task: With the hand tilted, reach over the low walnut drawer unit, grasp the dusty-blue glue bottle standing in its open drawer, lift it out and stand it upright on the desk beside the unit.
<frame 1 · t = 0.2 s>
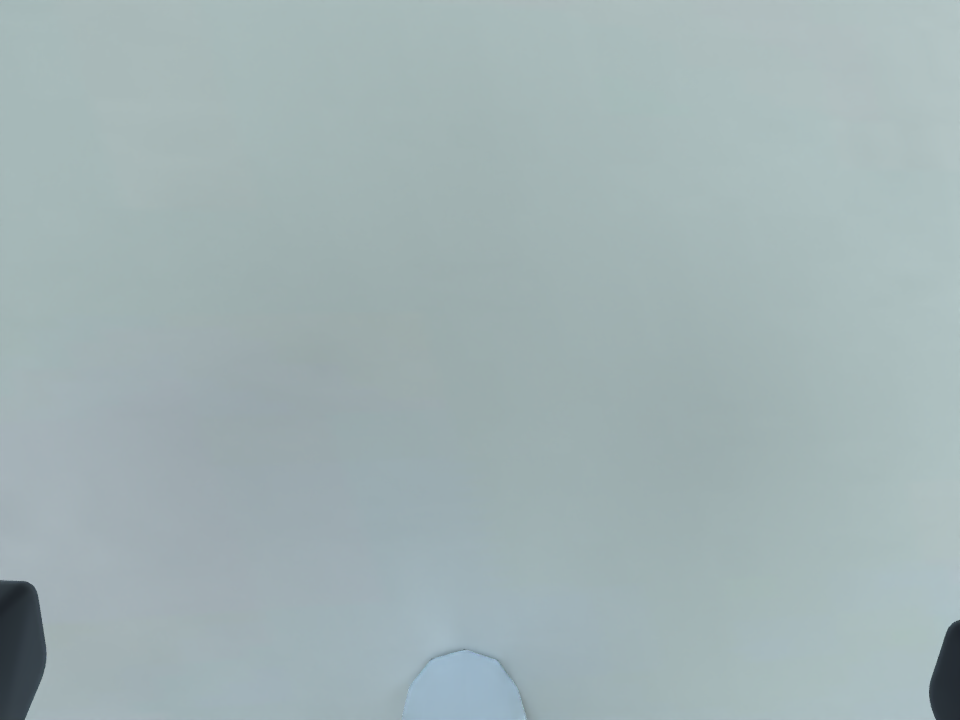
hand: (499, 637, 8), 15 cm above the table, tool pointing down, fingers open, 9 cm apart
milkshake: (463, 684, 25), on the table
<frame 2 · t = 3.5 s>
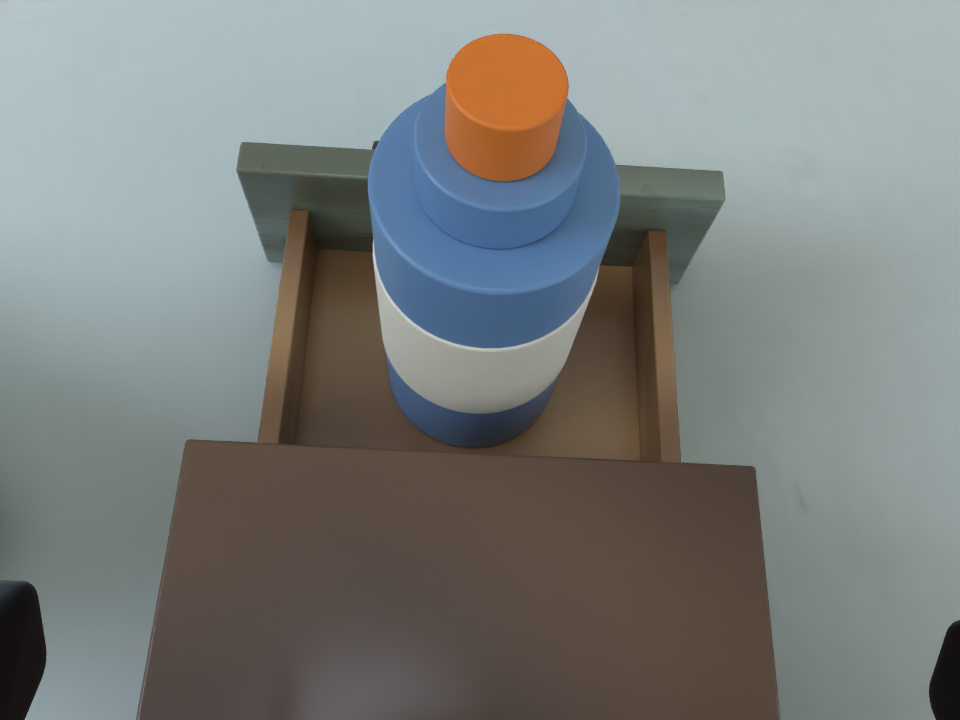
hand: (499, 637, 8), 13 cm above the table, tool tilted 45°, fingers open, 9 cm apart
drawer: (472, 400, 21), point 3 cm above the table, slide at 6.6 cm, touching glue bottle
glue bottle: (471, 368, 22), point 1 cm above the table, touching drawer
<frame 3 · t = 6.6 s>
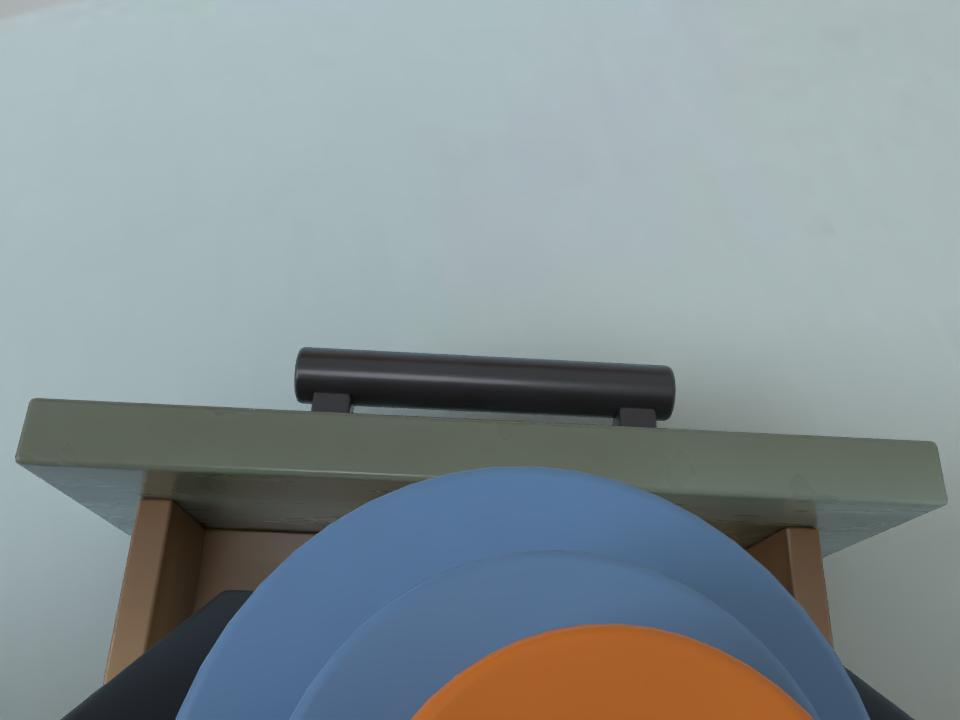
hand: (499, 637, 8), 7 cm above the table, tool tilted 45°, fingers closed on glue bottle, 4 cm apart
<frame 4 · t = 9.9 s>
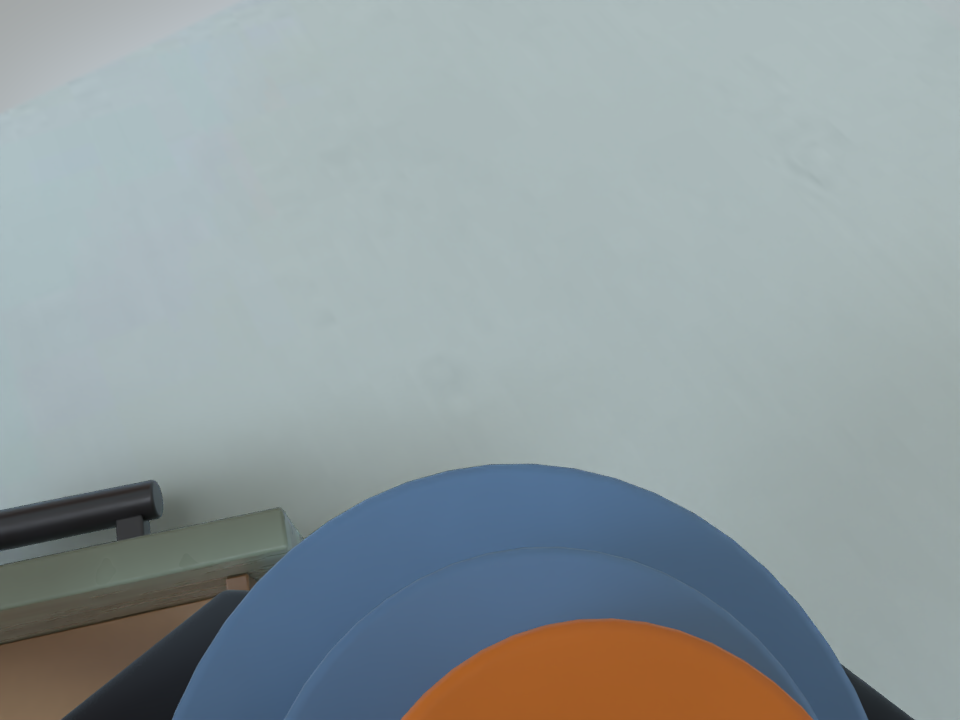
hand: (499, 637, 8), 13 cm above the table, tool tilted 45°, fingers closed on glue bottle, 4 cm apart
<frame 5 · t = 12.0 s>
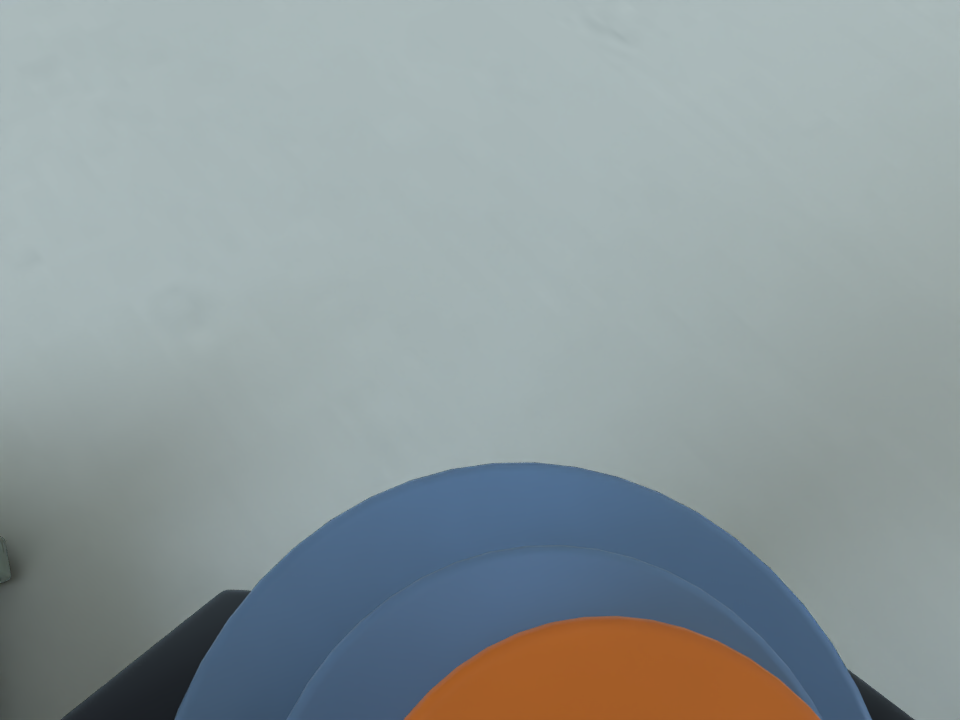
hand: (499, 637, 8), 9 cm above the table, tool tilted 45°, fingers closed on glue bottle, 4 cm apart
when the fingers open (5 cm above the table, at t = 13.5 s): glue bottle stays where it is, on the table.
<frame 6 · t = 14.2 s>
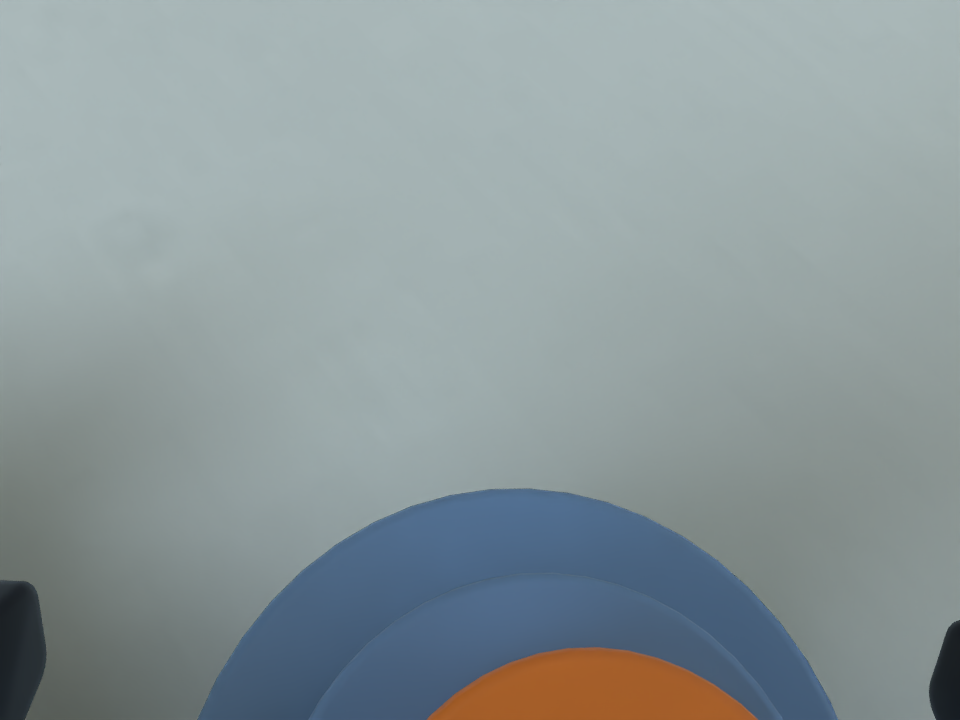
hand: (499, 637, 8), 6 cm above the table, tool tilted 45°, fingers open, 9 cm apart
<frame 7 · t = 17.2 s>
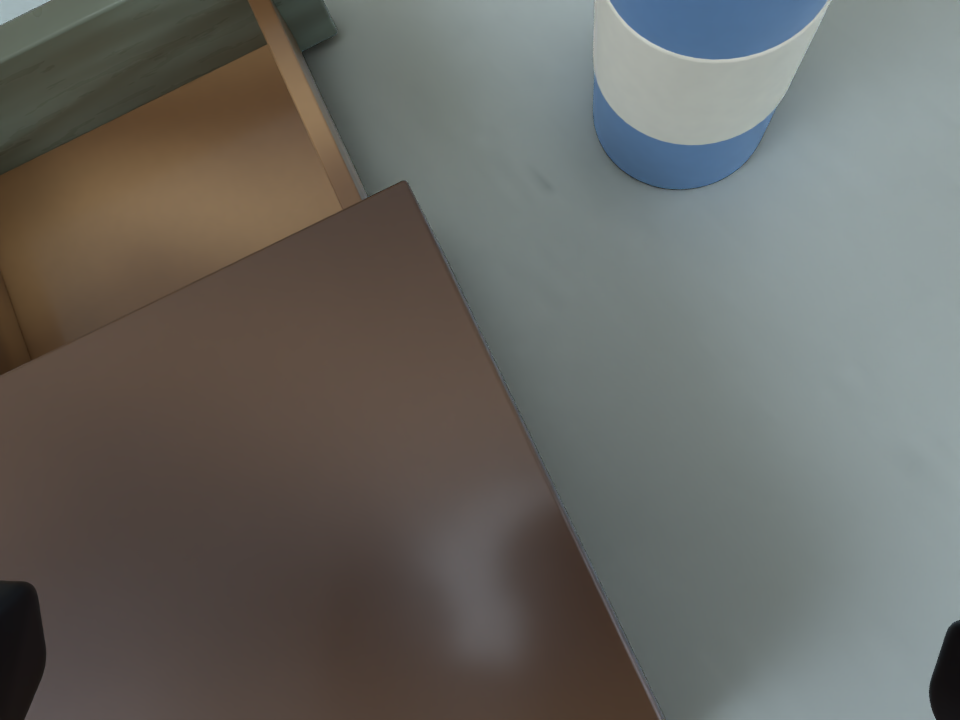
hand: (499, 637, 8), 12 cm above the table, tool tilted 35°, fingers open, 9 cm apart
drawer: (161, 256, 20), point 3 cm above the table, slide at 6.6 cm
glue bottle: (678, 109, 22), on the table
drawer unit: (330, 589, 21), on the table
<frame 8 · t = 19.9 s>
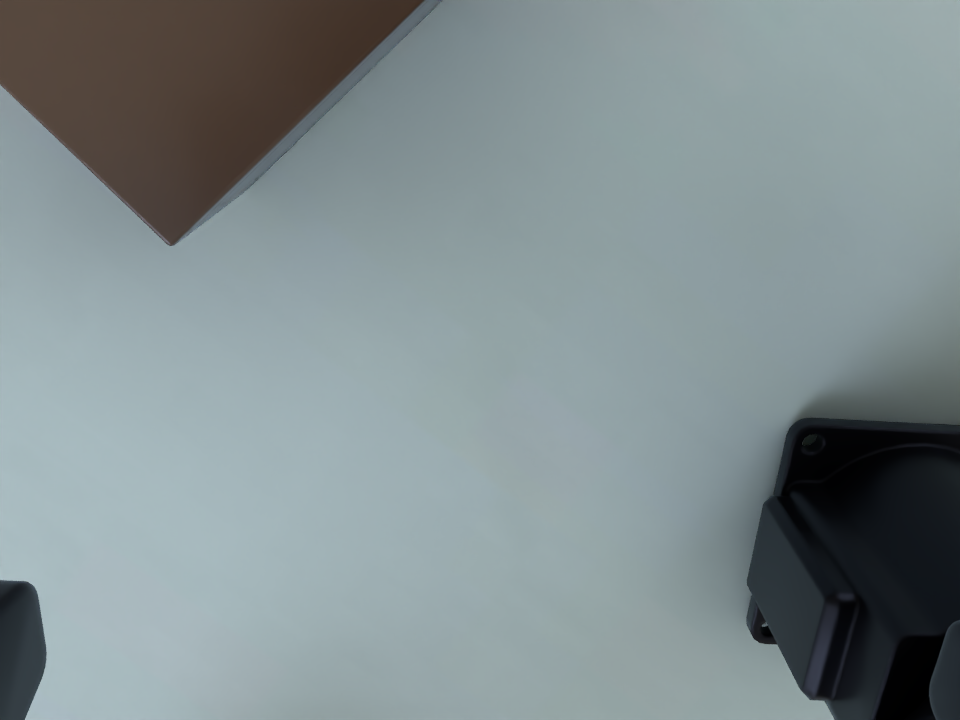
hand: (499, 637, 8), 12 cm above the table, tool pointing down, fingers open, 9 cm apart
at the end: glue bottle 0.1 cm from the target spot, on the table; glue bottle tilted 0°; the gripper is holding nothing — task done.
